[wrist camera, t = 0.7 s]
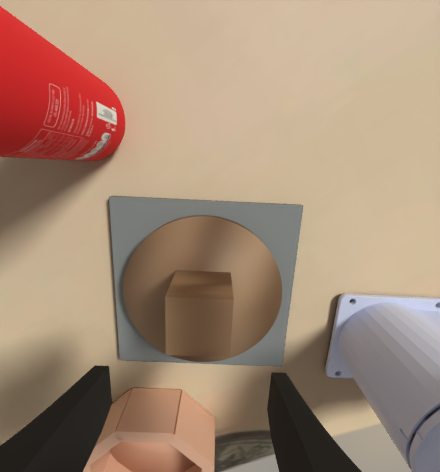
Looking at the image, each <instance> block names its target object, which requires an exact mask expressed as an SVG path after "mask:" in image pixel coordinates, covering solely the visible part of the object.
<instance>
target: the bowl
mask: <svg viewBox="0 0 440 472" xmlns="http://www.w3.org/2000/svg"><path fill="white" fill-rule="evenodd" d="M214 461H215V417H213V416H212V415H211V414H210V413H209V412H208V411H206V410H205V409H204V408H203V407H202V406H201V405H199V404H198V403H197V402H196V401H195V400H193V399H192V398H191V397H190V396H189V395H188V394H186V393H185V392H184V391H183V390H182V391H181V390H179V389H153V388H133V389H132V388H131V389H130V390H129V391H128V392H126V393H125V394H124V395H123V396H121V397H120V398H119V399H118V400H116V401H115V402H114V403H113V404H111V407H110V410H109V413H108V416H107V419H106V422H105V424H104V427H103V430H102V432H101V434H100V436H99V439H98V441H97V443H96V445H95V447H94V449H93V451H92V454H91V456H90V458H89V460H88V462H87V464H86V466H85V468H84V470H83V472H214Z"/></svg>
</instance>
